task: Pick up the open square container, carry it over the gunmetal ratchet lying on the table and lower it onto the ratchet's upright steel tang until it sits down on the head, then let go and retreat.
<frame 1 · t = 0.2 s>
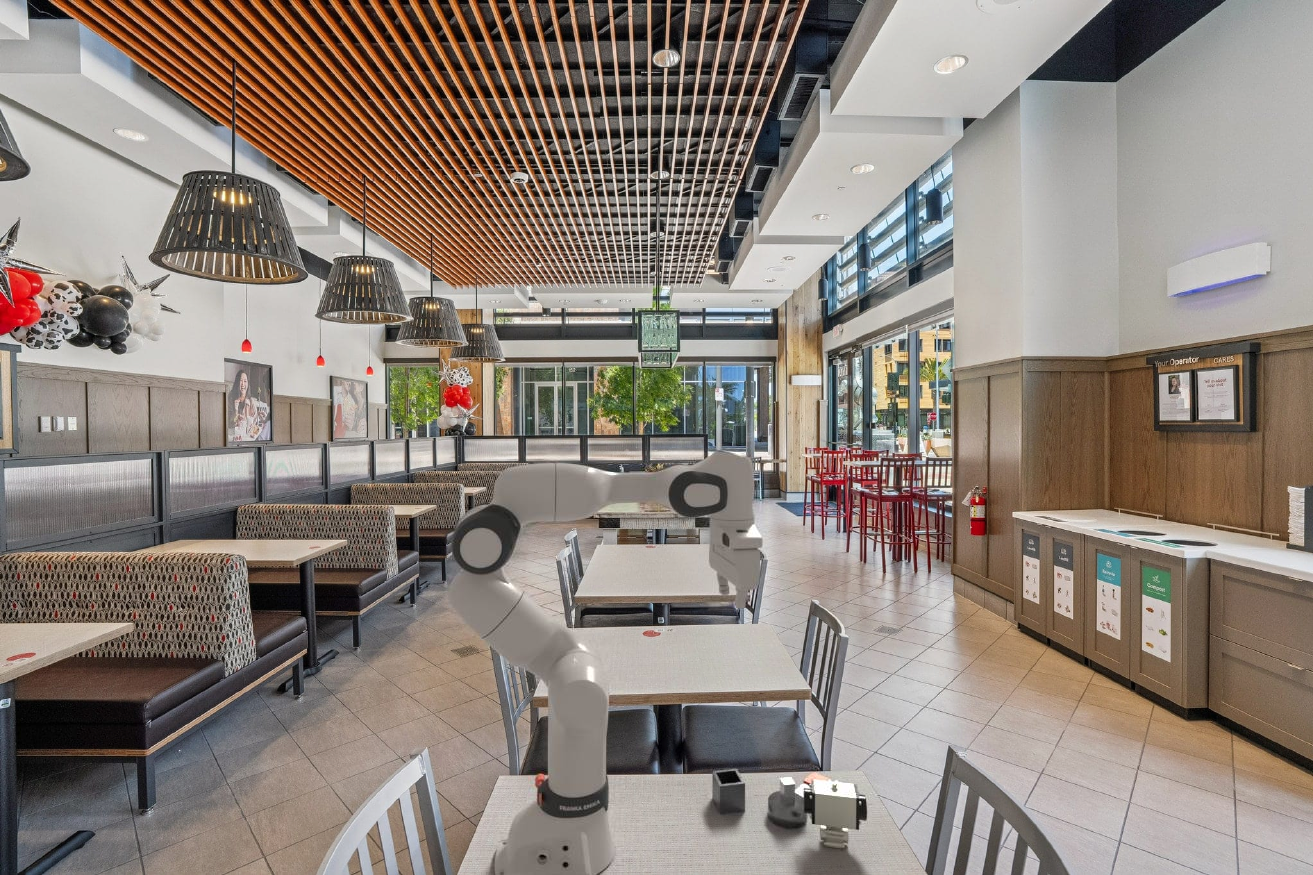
hand: (731, 600, 122), 47 cm above the table, fingers open, 8 cm apart
pneumatic valve: (833, 842, 120), on the table
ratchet: (787, 816, 128), on the table
open square container: (728, 804, 132), on the table
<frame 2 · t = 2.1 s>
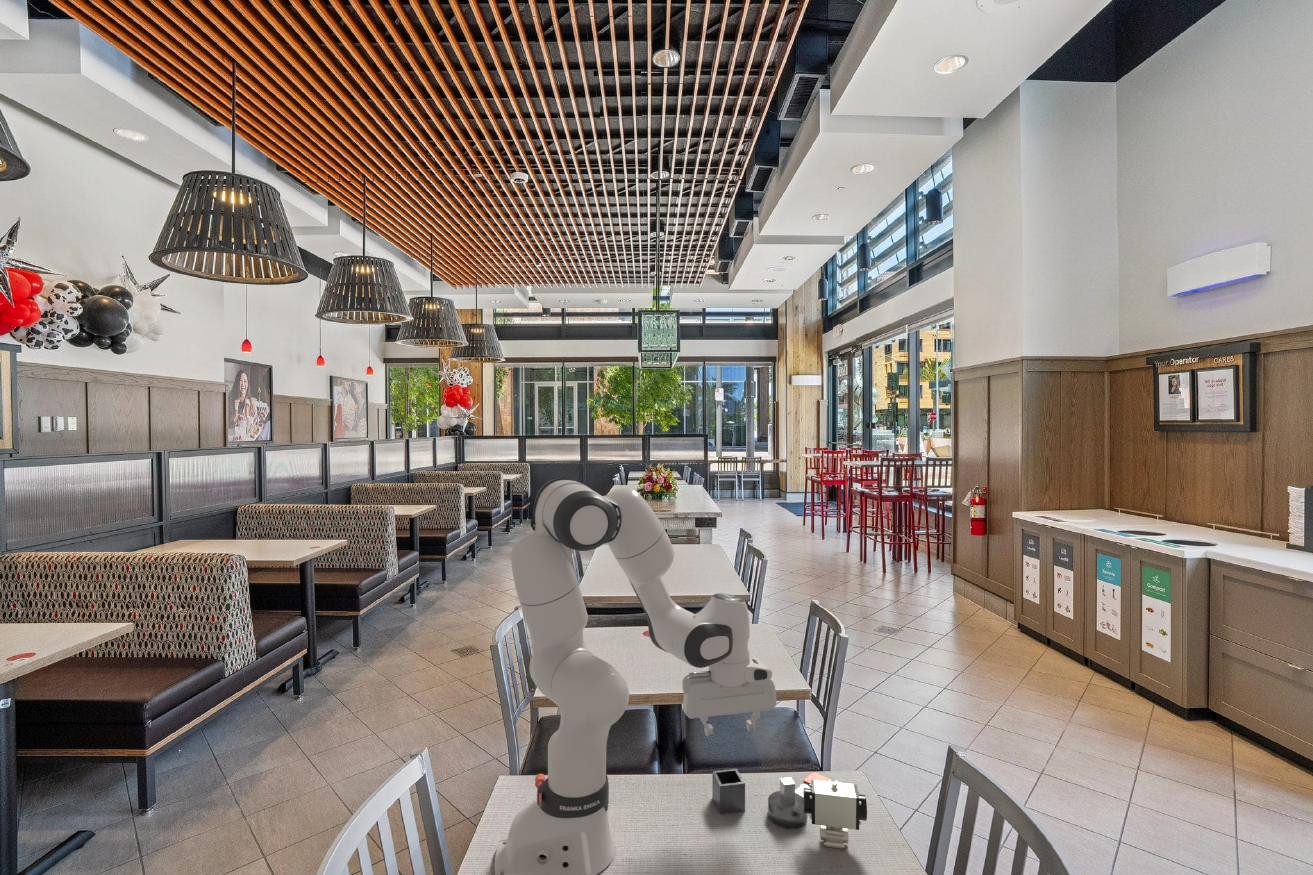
hand: (730, 732, 132), 16 cm above the table, fingers open, 8 cm apart
nothing on the table moved.
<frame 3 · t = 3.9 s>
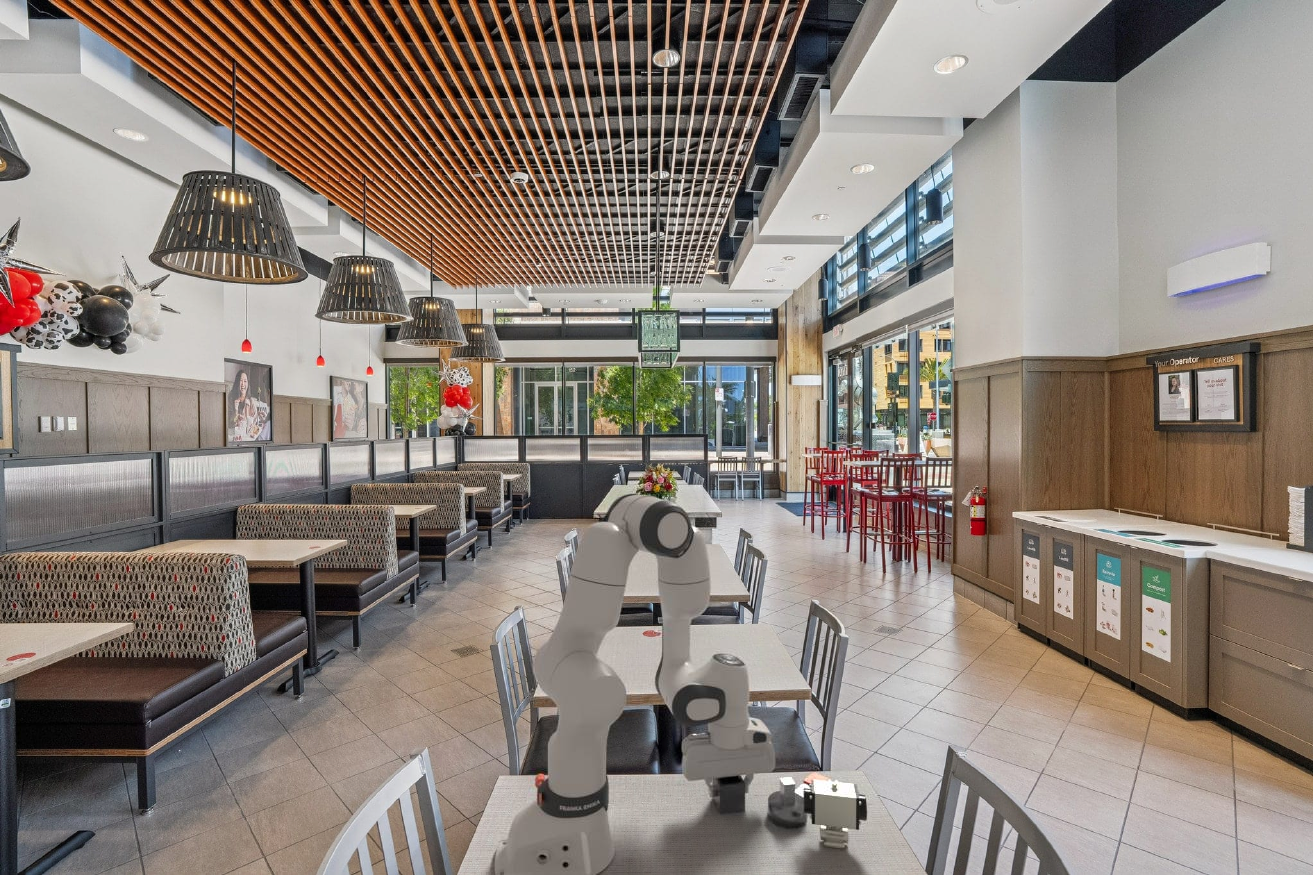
hand: (728, 793, 132), 2 cm above the table, fingers closed on open square container, 6 cm apart
open square container: (728, 804, 132), on the table, touching gripper
everything else where it was.
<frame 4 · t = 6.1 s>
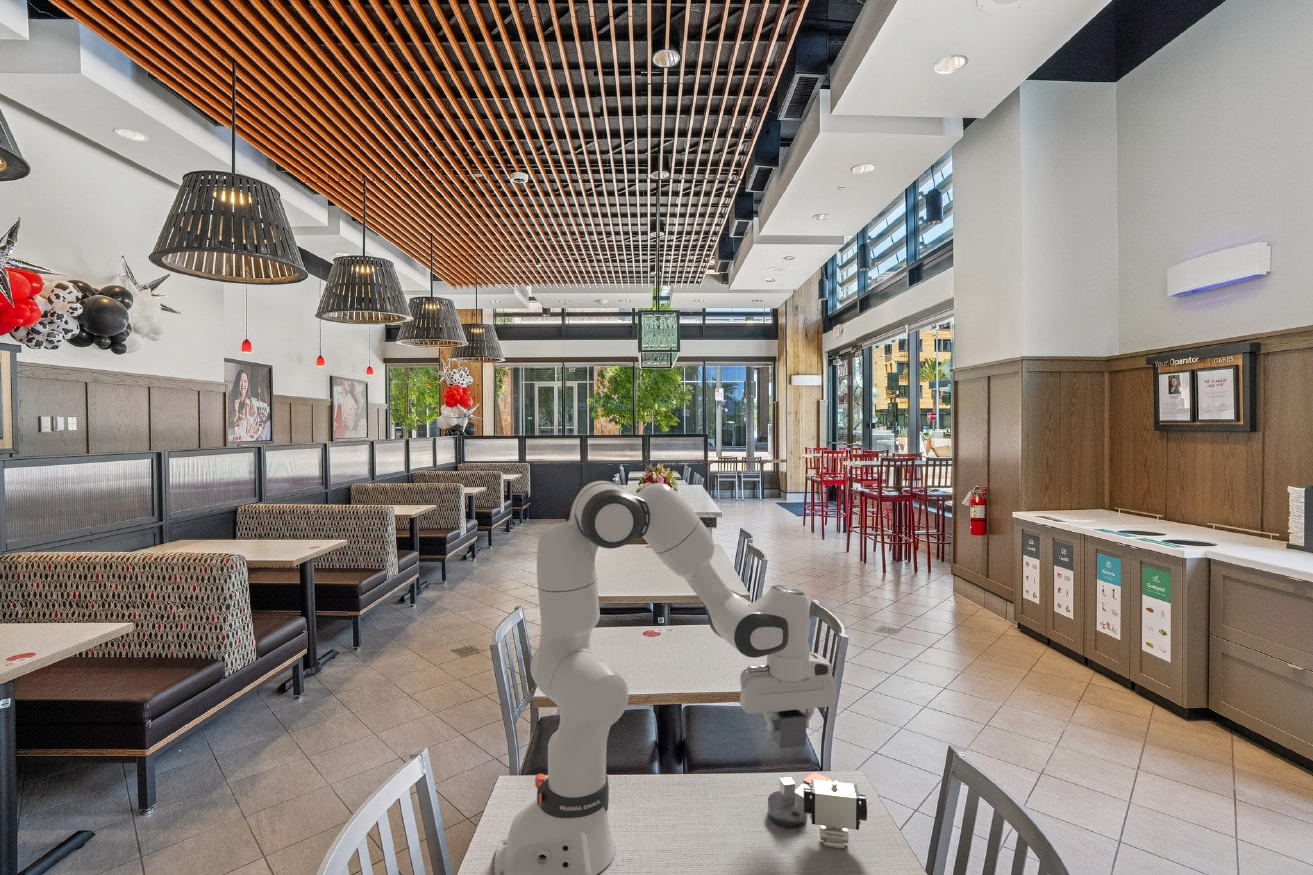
hand: (788, 728, 128), 19 cm above the table, fingers closed on open square container, 6 cm apart
open square container: (787, 739, 128), point 16 cm above the table, touching gripper
everything else where it was.
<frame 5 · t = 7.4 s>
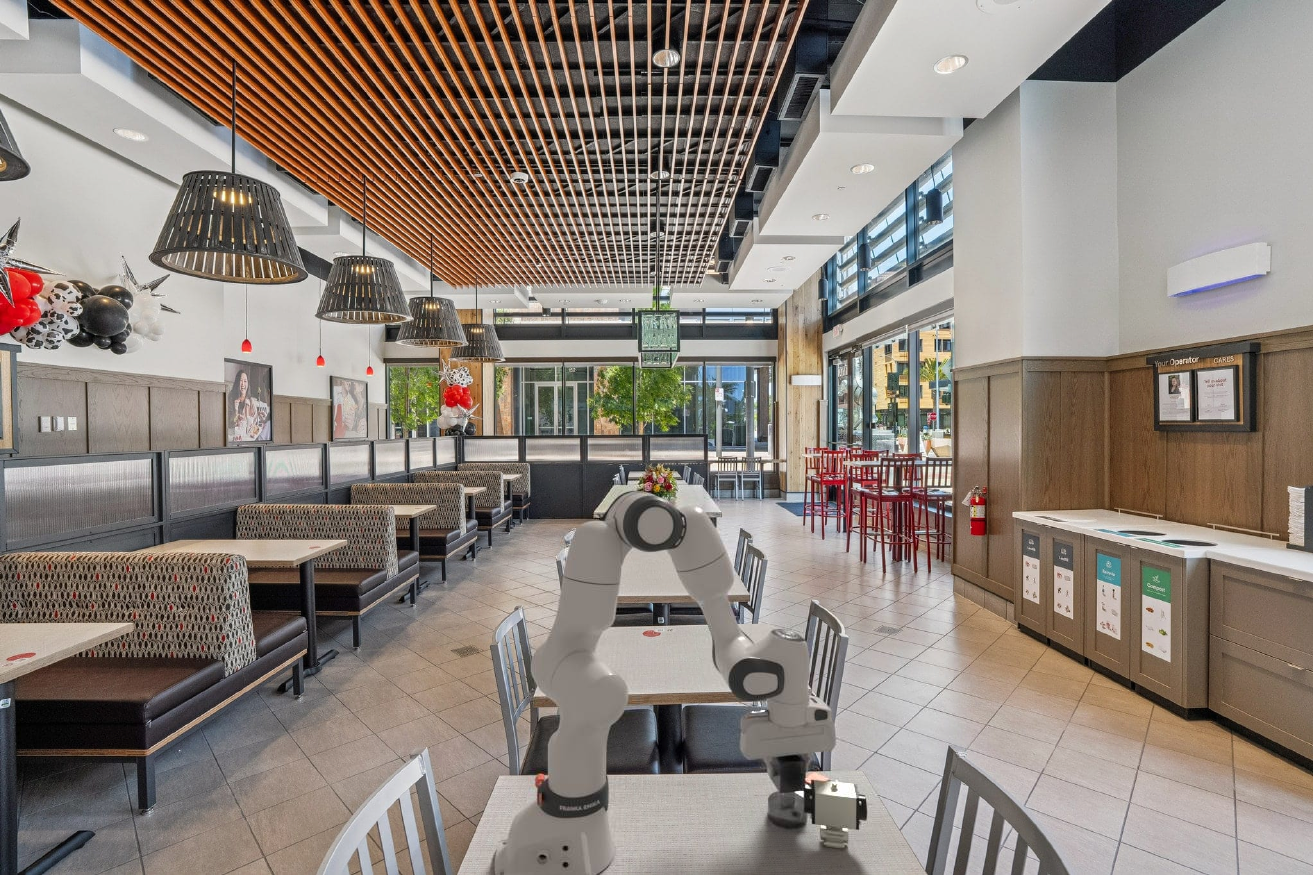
hand: (787, 773, 128), 9 cm above the table, fingers closed on open square container, 6 cm apart
open square container: (787, 783, 128), point 7 cm above the table, touching gripper
everything else where it was.
when the fingers open (6 cm above the table, at t = 8.4 s): open square container stays where it is, resting on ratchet.
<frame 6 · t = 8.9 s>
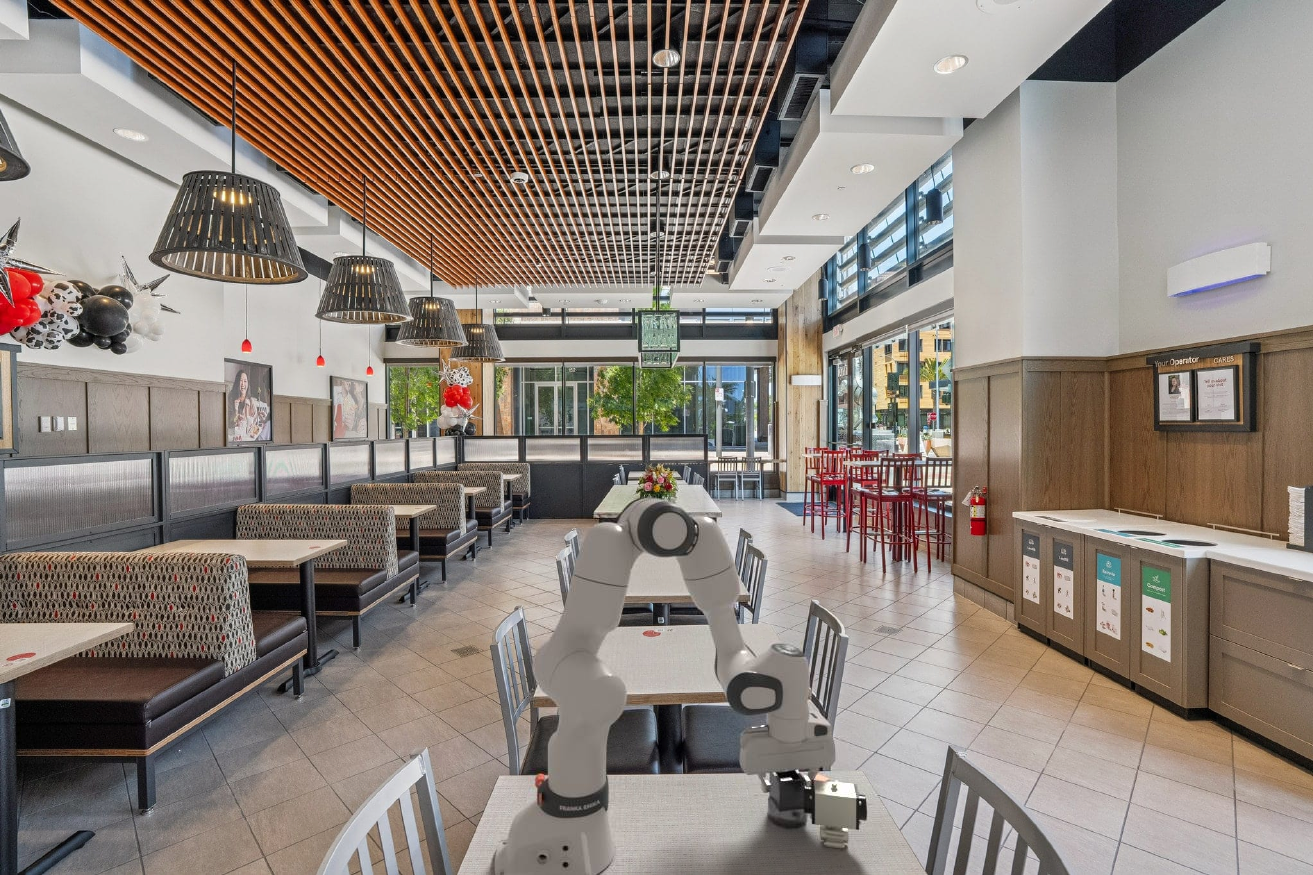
hand: (787, 788, 128), 6 cm above the table, fingers open, 8 cm apart
open square container: (786, 801, 128), point 3 cm above the table, touching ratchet
everything else where it was.
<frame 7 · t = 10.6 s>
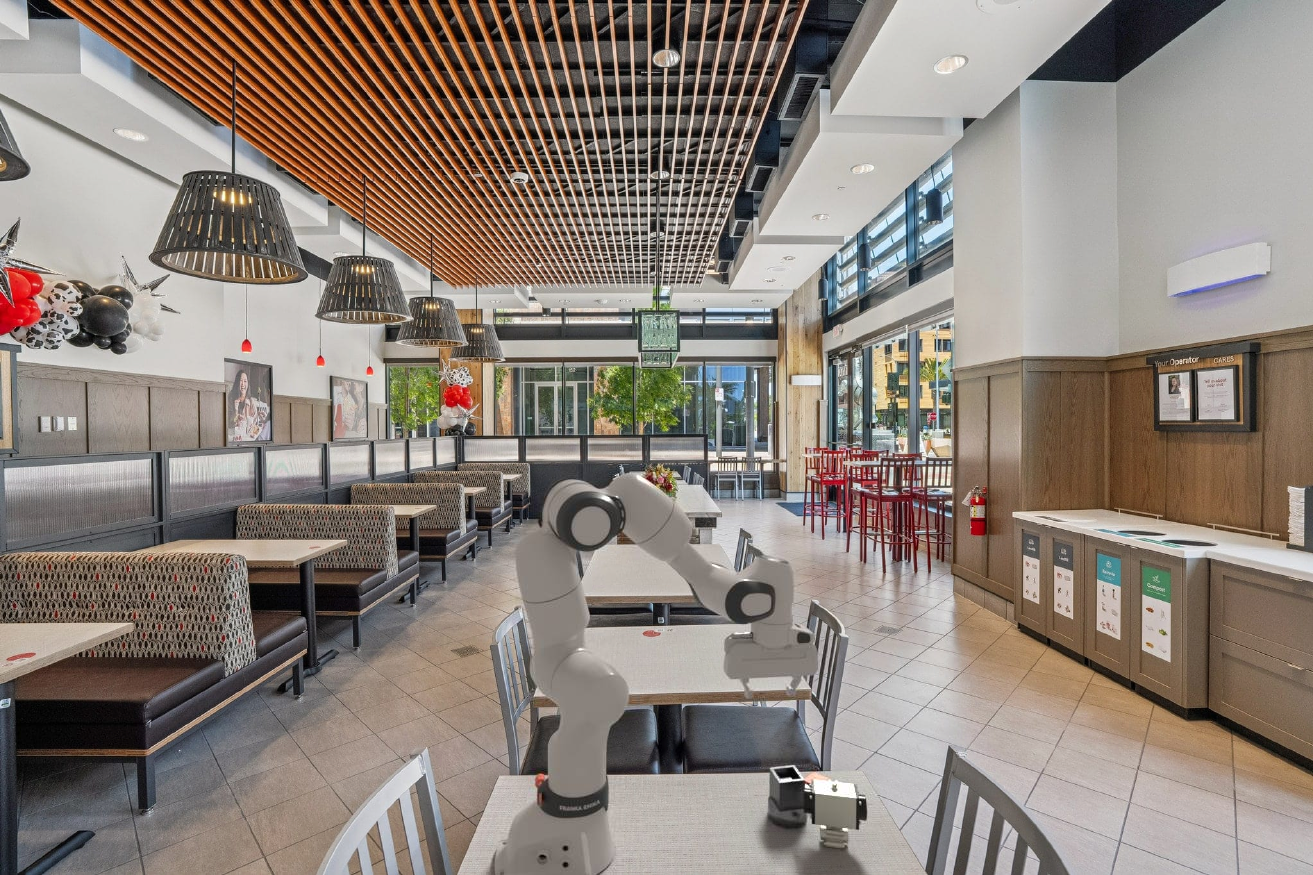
hand: (769, 696, 130), 24 cm above the table, fingers open, 8 cm apart
nothing on the table moved.
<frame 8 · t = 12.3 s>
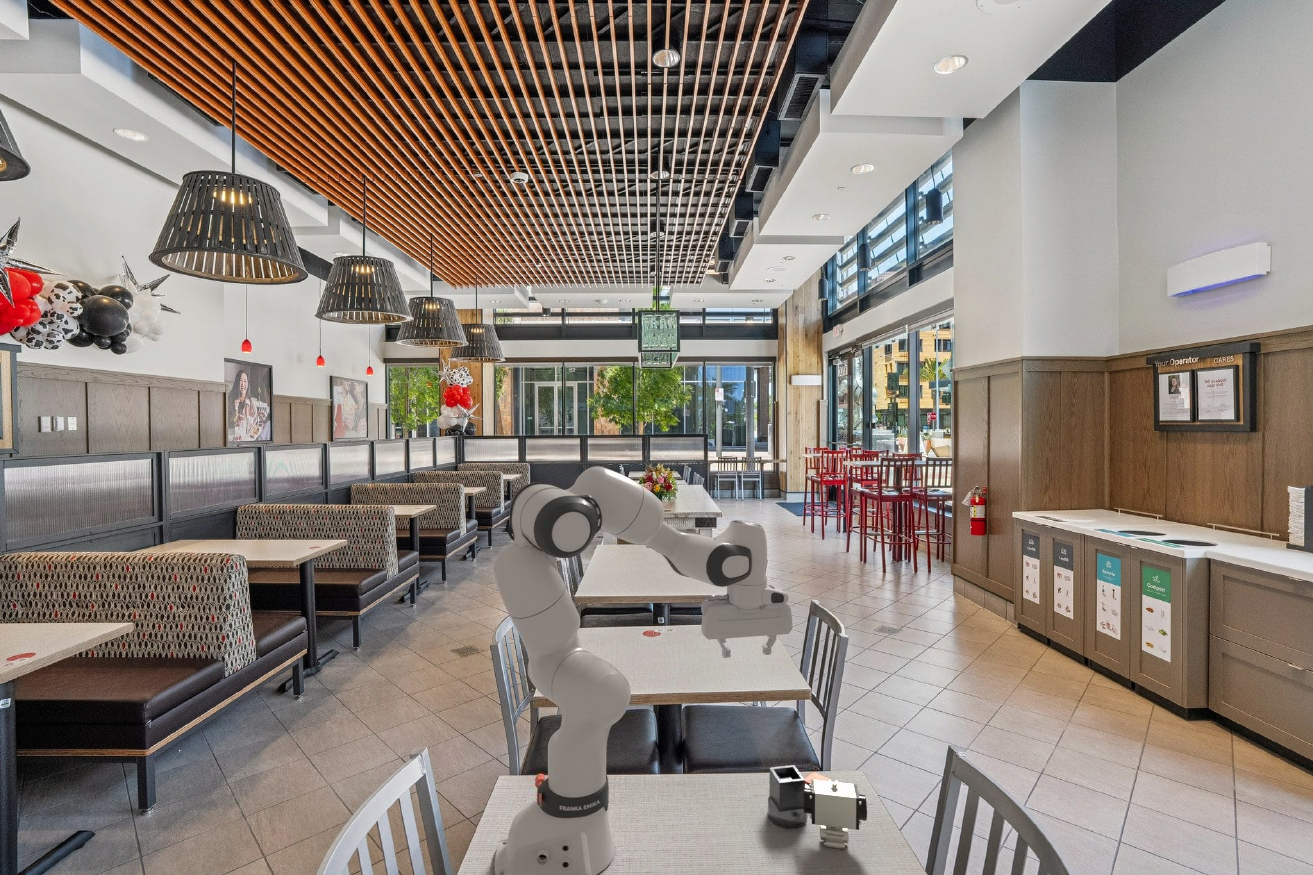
hand: (746, 655, 135), 31 cm above the table, fingers open, 8 cm apart
nothing on the table moved.
at the end: open square container 0.1 cm off-centre on the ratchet, point 3.0 cm above the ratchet's base; open square container tilted 0°; the gripper is holding nothing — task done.
